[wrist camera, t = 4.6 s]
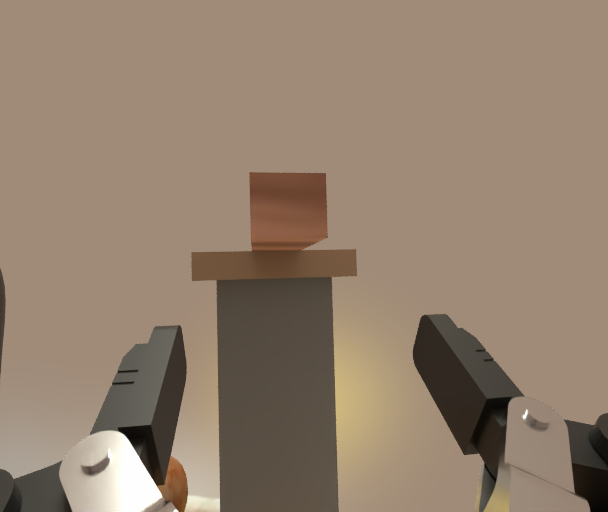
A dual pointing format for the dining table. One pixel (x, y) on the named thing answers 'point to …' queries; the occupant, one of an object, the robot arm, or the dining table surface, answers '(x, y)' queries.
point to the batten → (287, 210)
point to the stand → (276, 377)
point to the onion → (175, 485)
